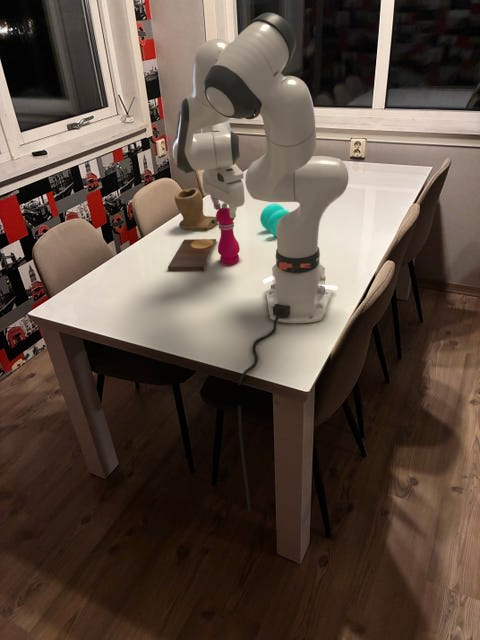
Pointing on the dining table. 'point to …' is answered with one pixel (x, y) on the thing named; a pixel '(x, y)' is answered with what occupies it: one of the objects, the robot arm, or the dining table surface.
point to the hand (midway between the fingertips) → (224, 213)
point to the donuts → (272, 217)
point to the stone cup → (193, 210)
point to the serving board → (192, 255)
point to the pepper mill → (227, 237)
